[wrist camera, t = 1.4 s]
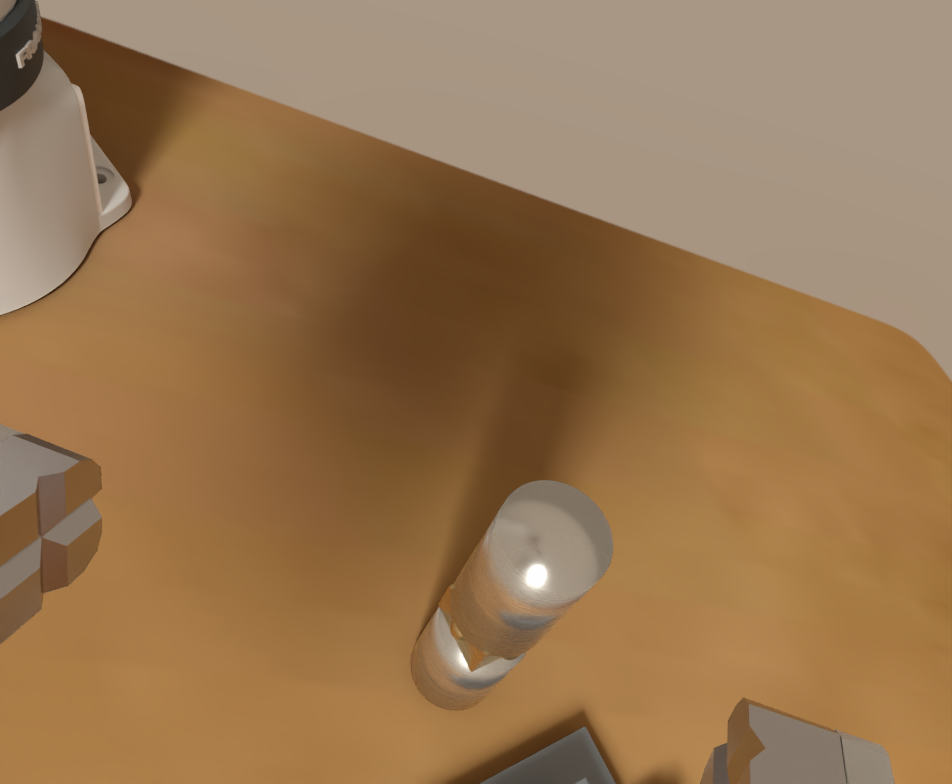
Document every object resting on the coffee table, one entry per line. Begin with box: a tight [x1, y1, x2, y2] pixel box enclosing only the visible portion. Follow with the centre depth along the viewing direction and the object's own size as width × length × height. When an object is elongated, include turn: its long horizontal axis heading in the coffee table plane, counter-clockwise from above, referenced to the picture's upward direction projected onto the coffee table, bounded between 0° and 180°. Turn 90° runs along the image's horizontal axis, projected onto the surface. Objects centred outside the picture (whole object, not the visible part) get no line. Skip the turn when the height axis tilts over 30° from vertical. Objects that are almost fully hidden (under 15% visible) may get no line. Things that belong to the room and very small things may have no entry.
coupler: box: [411, 480, 613, 710], centre depth 33 cm, size 4×4×14 cm
